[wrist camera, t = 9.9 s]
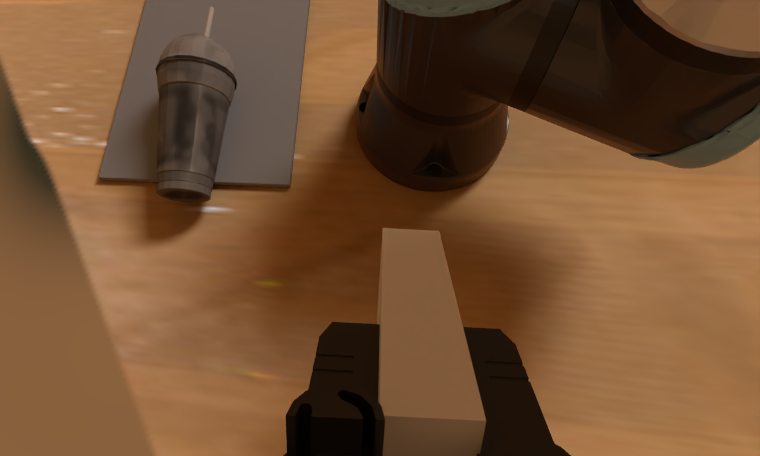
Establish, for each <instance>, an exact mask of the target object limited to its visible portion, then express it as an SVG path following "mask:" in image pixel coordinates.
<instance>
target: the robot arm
mask: <svg viewBox="0 0 760 456" xmlns="http://www.w3.org/2000/svg"><path fill="white" fill-rule="evenodd" d="M508 106H510V107H513V108H516V109H518V110H521V111H523V112H526V113H528V114H531V115H533V116H536V117H538V118H541V119H543V120H546V121H548V122H551V123H553V124H556V125H558V126H561V127H563V128H566V129H568V130H571V131H573V132H576V133H578V134H581V135H583V136H586V137H588V138H591V139H594V140H596V141H599V142H601V143H604V144H606V145H609V146H611V147H614V148H616V149H619V150H621V151H624V152H626V153H628V154H630V155H632V156H634V157H636V158H639V159H645V160H654V161H657V162H661V163H664V164H667V165H670V166H674V167H678V168H689V169H692V168H701V167H706V166H710V165H713V164H716V163H718V162H721V161H723V160H726V159H728V158H730V157H732V156H734V155H735V154H737V153H739V152H741V151H742V150H744V149H746V148H747V147H749V146H750V145H751V144H753V143H754V142H755V141H757V140H758V139H759V138H760V0H378V31H377V63H376V65H375V67H374V69H373V71H372V72H371V74H370V76H369V78H368V80H367V81H366V83H365V85H364V87H363V89H362V91H361V93H360V96H359V100H358V104H357V134H358V139H359V142H360V145H361V147H362V149H363V151H364V153H365V155H366V156H367V158H368V159H369V161H370V162H371V163H372V164H373V165H374V166H375V167H376V168H377V169H378V170H379V171H380V172H381V173H382V174H384V175H385V176H386V177H388V178H389V179H391V180H393V181H395V182H397V183H399V184H401V185H404V186H406V187H409V188H413V189H417V190H423V191H446V190H452V189H456V188H459V187H462V186H465V185H467V184H469V183H471V182H473V181H475V180H477V179H478V178H479V177H481V176H482V175H483V174H485V173H486V172H487V171H488V170H489V169H490V167H491V166H492V165H493V163H494V162H495V160H496V159H497V157H498V155H499V153H500V151H501V149H502V147H503V145H504V143H505V140H506V137H507V133H508V127H509V115H508ZM286 435H287V453H286V454H285V455H284V456H571V455H569V454H568V453H567V452H566V451H565V450H564V449H562V448H561V447H560V446H558V445H556V444H555V443H554V441H553V439H552V437H551V434H550V432H549V429H548V426H547V424H546V421H545V419H544V416H543V414H542V411H541V409H540V406H539V404H538V401H537V398H536V396H535V393H534V391H533V388H532V386H531V383H530V382H529V381H528V376H527V373H526V370H525V368H524V367H523V366H522V360H521V358H520V355H519V353H518V350H517V348H516V345H515V344H514V343H513V342H512V341H511V340H510V339H509V338H508V337H507V336H506V335H505V334H504V333H503V332H502V331H501V330H500V329H487V328H468V327H463V325H462V321H461V317H460V313H459V309H458V305H457V301H456V297H455V292H454V288H453V284H452V280H451V276H450V272H449V268H448V264H447V260H446V256H445V252H444V248H443V244H442V240H441V236H440V232H439V231H432V230H414V229H396V228H383V230H382V246H381V262H380V278H379V294H378V310H377V324H361V323H343V322H332V323H331V324H330V325H329V326H328V328H327V329H326V330H325V331H324V332H323V333H322V334H321V335H320V337H319V342H318V347H317V351H316V357H315V361H314V366H313V373H312V376H311V380H310V385H309V390H308V391H305V392H304V393H303V394H302V395H301V396H299V397H298V398H297V399H296V400H294V401H293V403H292V405H291V407H290V408H289V410H288V412H287V414H286Z"/></svg>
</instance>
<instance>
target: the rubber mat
mask: <svg viewBox="0 0 760 456" xmlns="http://www.w3.org/2000/svg"><path fill="white" fill-rule="evenodd" d="M309 4H310V0H146V3H145V6H144V10H143V14H142V18H141V21H140V25H139V29H138V32H137V36H136V40H135V43H134V47H133V51H132V54H131V58H130V62H129V66H128V69H127V73H126V77H125V80H124V84H123V88H122V91H121V95H120V99H119V102H118V106H117V110H116V114H115V117H114V121H113V125H112V128H111V132H110V136H109V139H108V143H107V147H106V151H105V154H104V158H103V162H102V165H101V169H100V173H99V176H98V178H100V179H101V180H108V181H134V182H157V174H156V173H157V142H158V112H159V93H158V85H157V75H156V69H155V68H156V66H157V64H158V62H159V59H160V56H161V54H162V53H163V51H164V49H165V48H166V46H167V45H168V44H169V43H170V42H171V41H173V40H174V39H176V38H178V37H180V36H182V35H186V34H201V35H204V32H205V27H206V22H207V17H208V12H209V7H213V8H214V14H213V19H212V25H211V30H210V36H209V37H210V38H212V39H214V40H215V41H217V42H218V43H219V44H220V45H221V46H222V47H224V48H225V50H226V51H227V52H228V54H229V56H230V58H231V60H232V62H233V64H234V67H235V73H236V81H237V88H236V90H235V91H234V96H233V99H232V103H231V106H230V107H229V109H228V114H227V119H226V125H225V130H224V135H223V140H222V145H221V150H220V156H219V161H218V166H217V171H216V176H215V181H214V184H213V185H238V186H264V187H290V186H291V177H292V167H293V158H294V148H295V138H296V129H297V119H298V110H299V100H300V91H301V81H302V71H303V62H304V52H305V43H306V33H307V23H308V14H309Z"/></svg>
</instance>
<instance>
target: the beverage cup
mask: <svg viewBox="0 0 760 456" xmlns="http://www.w3.org/2000/svg"><path fill="white" fill-rule="evenodd" d="M213 14H214V8H213V7H209V12H208V17H207V22H206V27H205V32H204V35H201V34H186V35H182V36H180V37H178V38H176V39H174V40H173V41H171V42H170V43H169V44H168V45H167V46H166V48H165V49H164V51H163V53H162V54H161V56H160V59H159V62H158V64H157V66H156V68H155V69H156V75H157V85H158V93H159V112H158V142H157V173H156V174H157V185H158V186H157V194H159V195H160V196H163V197H165V198H169V199H172V200H178V201H185V202H204V201H208V200H210V197H211V192H212V188H213V184H214V181H215V176H216V171H217V166H218V161H219V156H220V150H221V145H222V140H223V135H224V130H225V125H226V119H227V114H228V109H229V107H230V106H231V103H232V99H233V96H234V91H235V90H236V88H237V81H236V73H235V67H234V64H233V62H232V60H231V58H230V56H229V54H228V52H227V51H226V50H225V48H224V47H222V46H221V45H220V44H219V43H218V42H217V41H215V40H214V39H212V38H210V37H209V36H210V30H211V25H212V19H213Z"/></svg>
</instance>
